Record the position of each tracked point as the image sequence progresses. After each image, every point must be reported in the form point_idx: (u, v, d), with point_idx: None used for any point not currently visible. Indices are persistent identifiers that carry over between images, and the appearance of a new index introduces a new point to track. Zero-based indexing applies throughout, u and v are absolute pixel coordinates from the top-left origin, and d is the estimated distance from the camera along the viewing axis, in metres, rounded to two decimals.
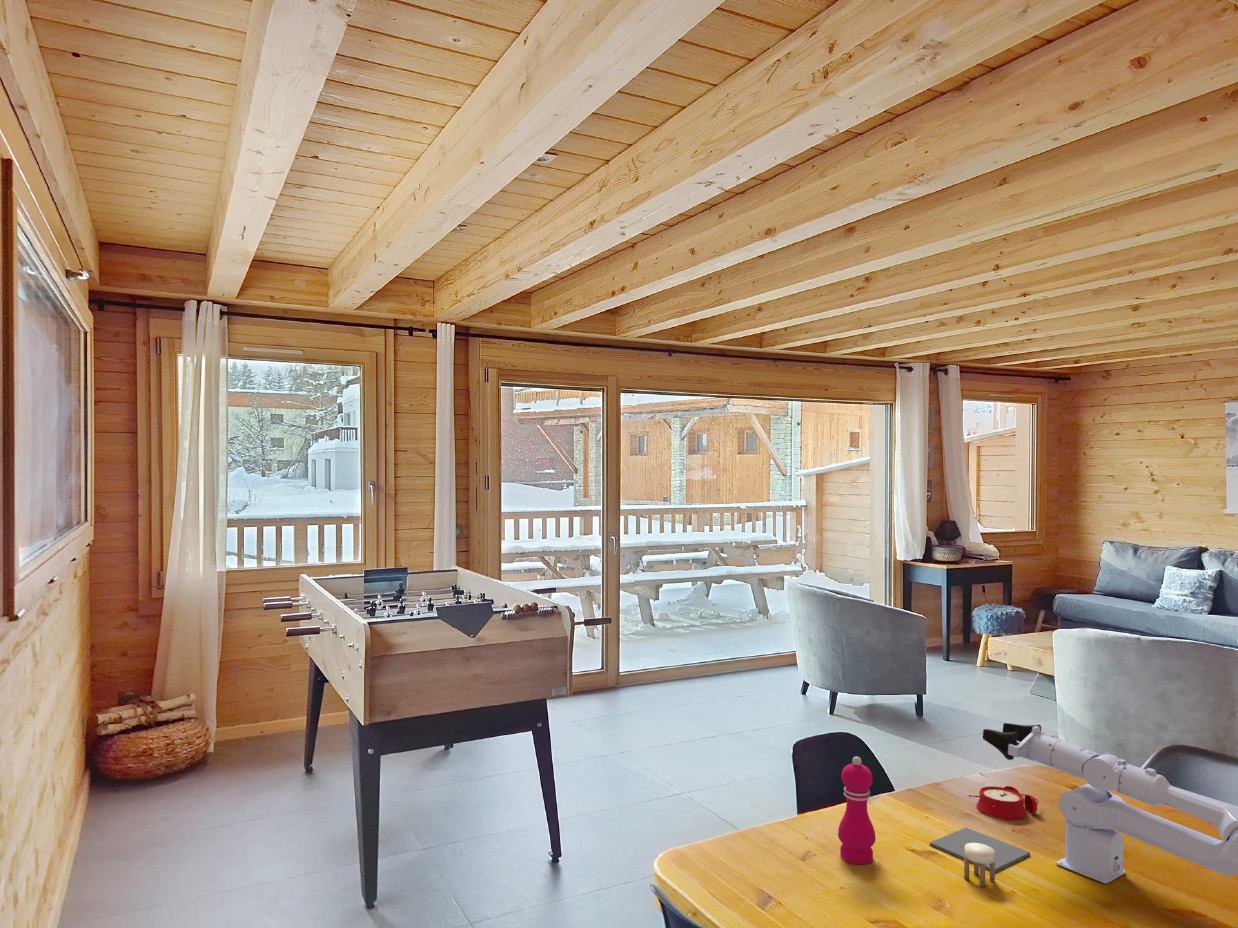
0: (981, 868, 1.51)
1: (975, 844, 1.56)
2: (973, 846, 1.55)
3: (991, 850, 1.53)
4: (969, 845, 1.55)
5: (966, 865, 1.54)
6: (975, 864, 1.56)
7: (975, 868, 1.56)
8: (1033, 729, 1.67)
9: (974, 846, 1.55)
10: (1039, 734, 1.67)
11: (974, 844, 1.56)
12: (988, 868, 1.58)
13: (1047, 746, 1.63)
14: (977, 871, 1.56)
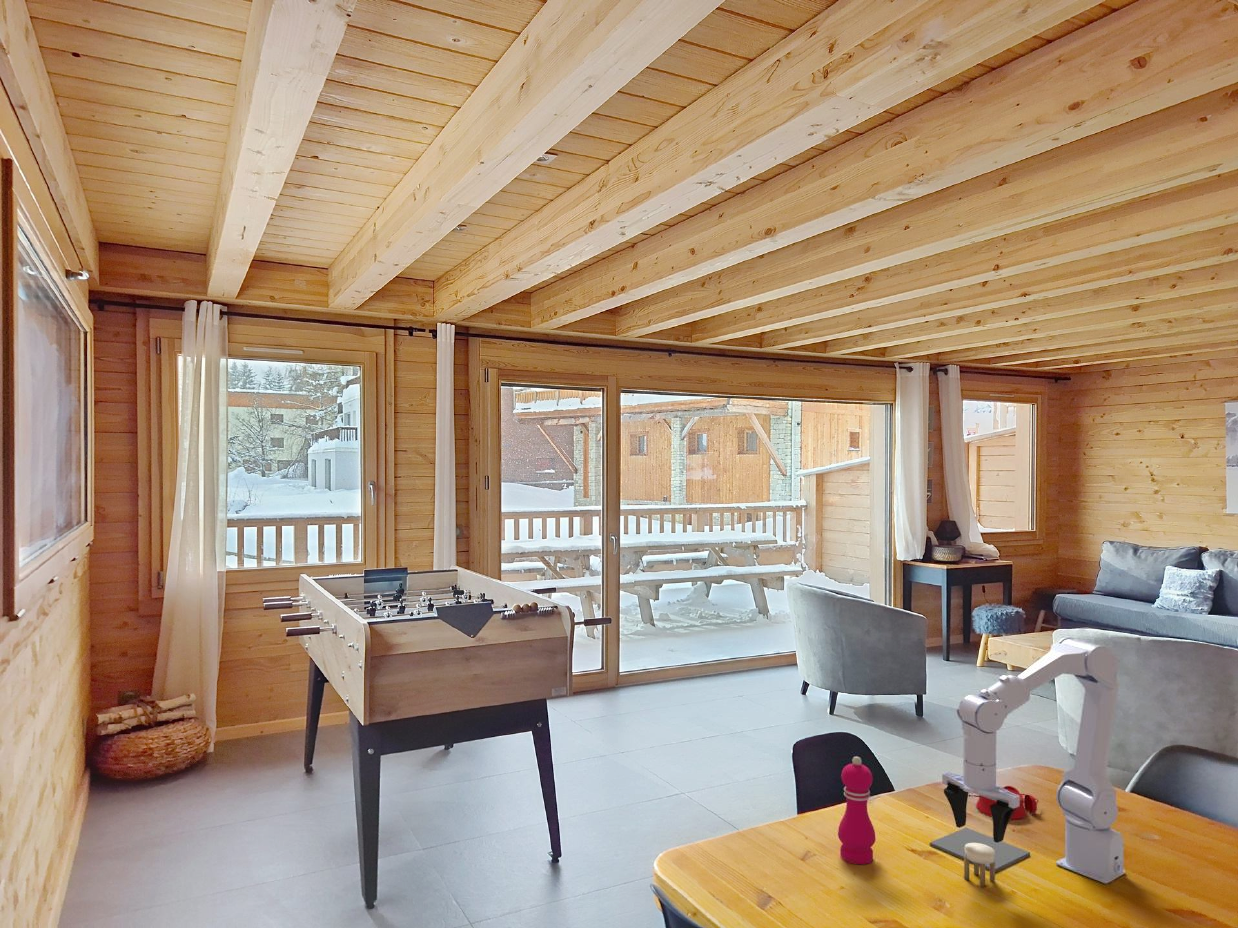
0: (981, 868, 1.51)
1: (975, 844, 1.56)
2: (973, 846, 1.55)
3: (991, 850, 1.53)
4: (969, 845, 1.55)
5: (966, 865, 1.54)
6: (975, 864, 1.56)
7: (975, 868, 1.56)
8: (973, 791, 1.51)
9: (974, 846, 1.55)
10: (973, 784, 1.52)
11: (974, 844, 1.56)
12: (988, 868, 1.58)
13: (986, 771, 1.51)
14: (977, 871, 1.56)
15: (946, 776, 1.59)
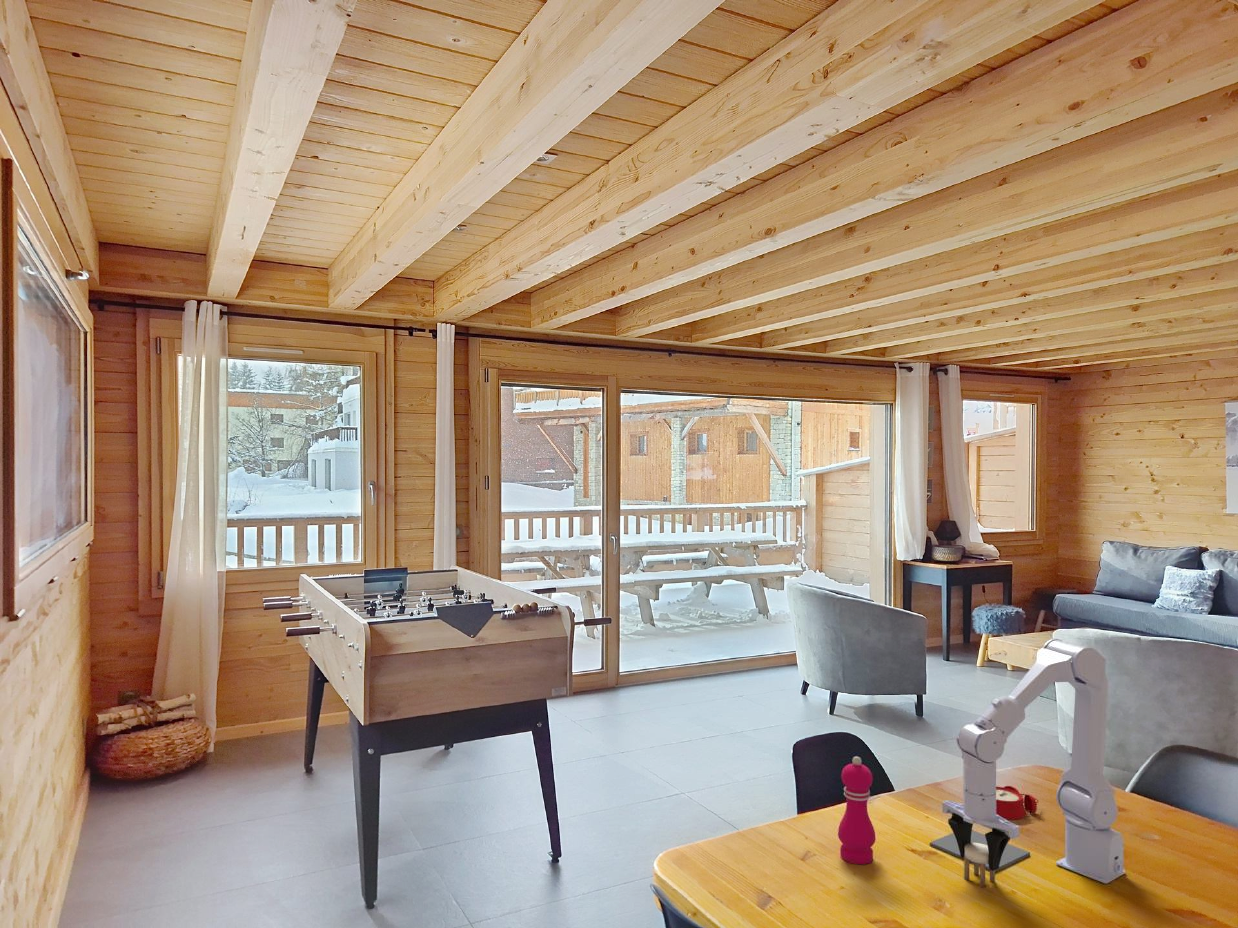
0: (981, 868, 1.51)
1: (975, 844, 1.56)
2: (973, 846, 1.55)
3: None
4: (969, 845, 1.55)
5: (966, 865, 1.54)
6: (975, 864, 1.56)
7: (975, 868, 1.56)
8: (973, 821, 1.51)
9: (974, 846, 1.55)
10: (973, 814, 1.52)
11: (974, 844, 1.56)
12: (988, 868, 1.58)
13: (986, 801, 1.51)
14: (977, 871, 1.56)
15: (946, 805, 1.59)
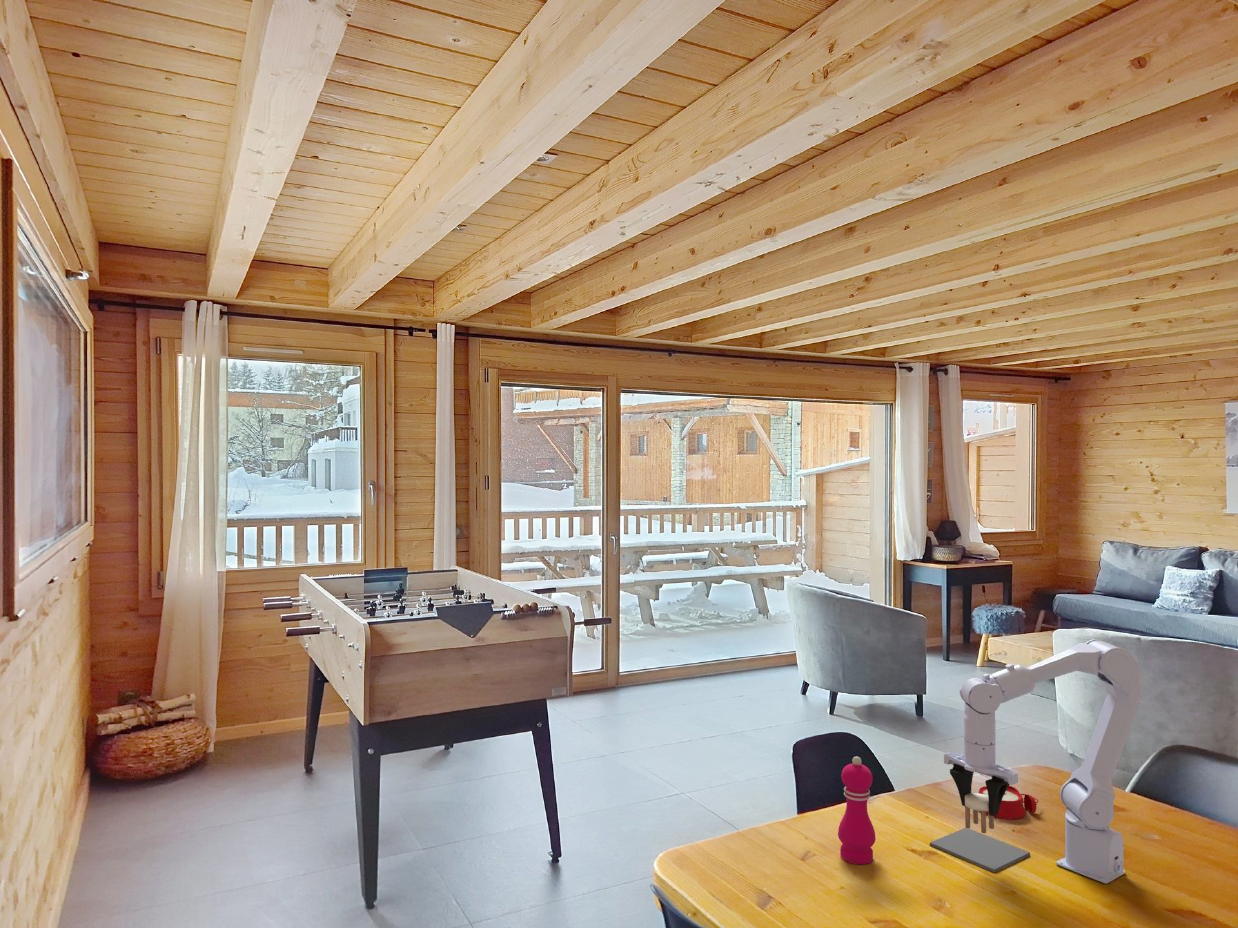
0: (982, 815, 1.59)
1: (974, 794, 1.63)
2: (973, 796, 1.62)
3: None
4: (969, 795, 1.62)
5: (967, 814, 1.61)
6: (974, 813, 1.63)
7: (974, 817, 1.63)
8: (974, 769, 1.59)
9: (973, 796, 1.62)
10: (974, 762, 1.60)
11: (973, 794, 1.63)
12: (988, 868, 1.58)
13: (986, 750, 1.59)
14: (976, 820, 1.63)
15: (948, 756, 1.66)
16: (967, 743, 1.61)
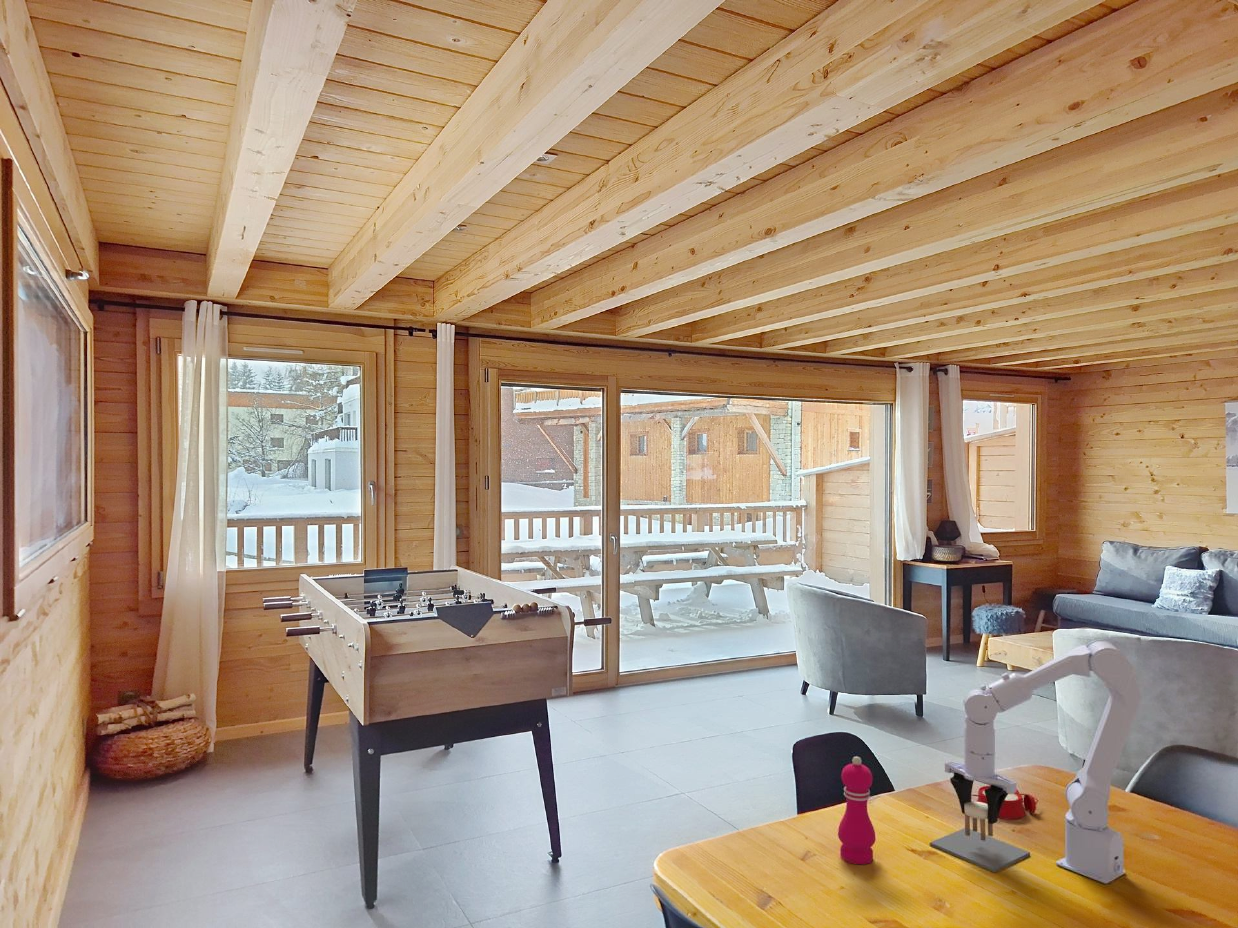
0: (981, 823, 1.63)
1: (973, 802, 1.68)
2: (972, 804, 1.67)
3: None
4: (968, 804, 1.67)
5: (967, 822, 1.66)
6: (974, 821, 1.68)
7: (974, 825, 1.68)
8: (974, 778, 1.64)
9: (973, 804, 1.67)
10: (973, 772, 1.64)
11: (972, 802, 1.68)
12: (988, 868, 1.58)
13: (985, 760, 1.64)
14: (976, 828, 1.68)
15: (948, 765, 1.71)
16: (967, 753, 1.66)
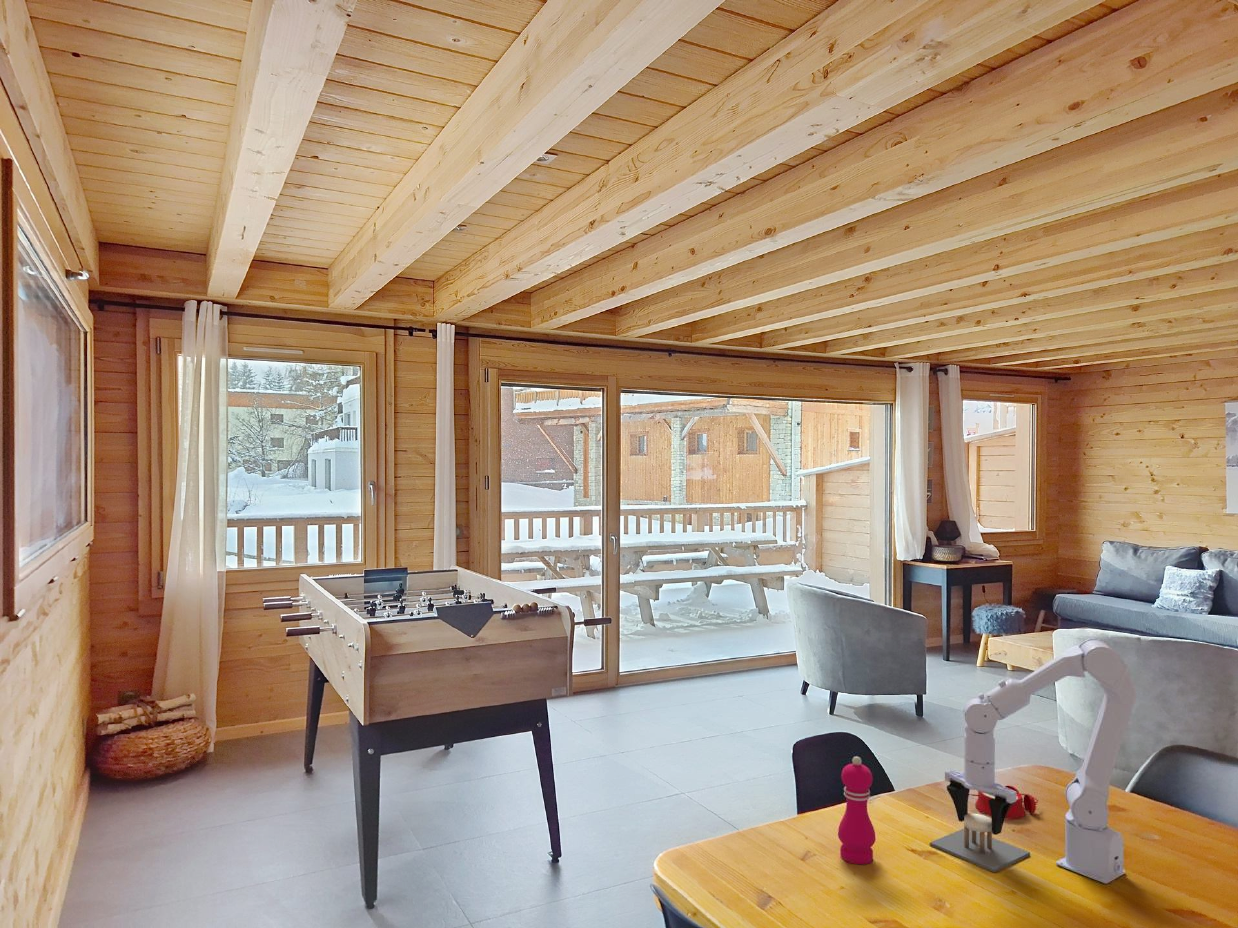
0: (981, 836, 1.63)
1: (973, 815, 1.68)
2: (972, 816, 1.67)
3: (989, 820, 1.65)
4: (968, 816, 1.67)
5: (966, 834, 1.66)
6: (973, 833, 1.68)
7: (973, 837, 1.68)
8: (974, 787, 1.63)
9: (973, 817, 1.67)
10: (973, 781, 1.64)
11: (972, 814, 1.68)
12: (988, 868, 1.58)
13: (985, 769, 1.64)
14: (975, 840, 1.68)
15: (948, 774, 1.71)
16: (967, 762, 1.66)
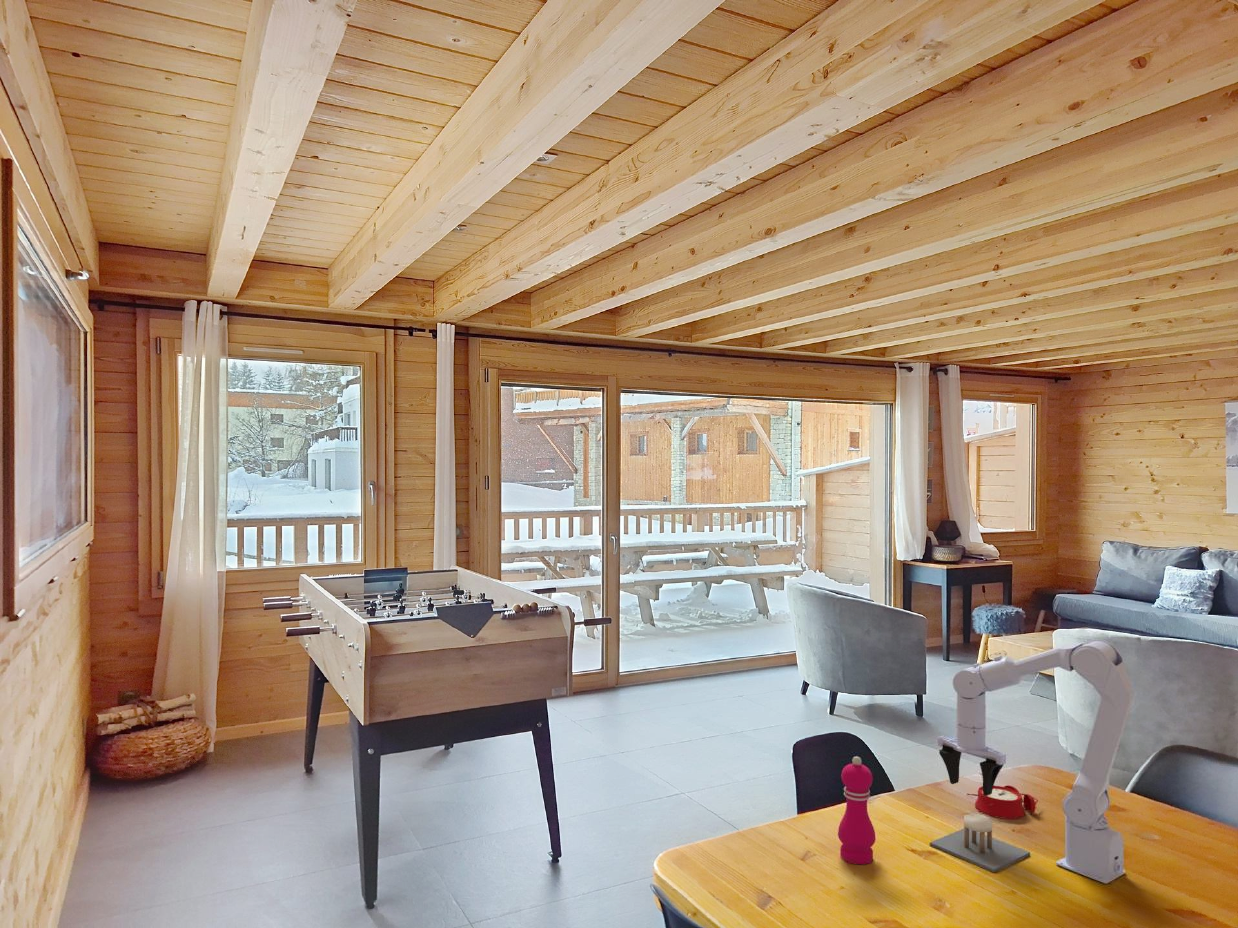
0: (981, 836, 1.63)
1: (973, 815, 1.68)
2: (972, 816, 1.67)
3: (989, 820, 1.65)
4: (968, 816, 1.67)
5: (966, 834, 1.66)
6: (973, 833, 1.68)
7: (973, 837, 1.68)
8: (965, 751, 1.72)
9: (973, 817, 1.67)
10: (965, 744, 1.73)
11: (972, 815, 1.68)
12: (988, 868, 1.58)
13: (976, 733, 1.72)
14: (975, 840, 1.68)
15: (941, 739, 1.79)
16: (959, 727, 1.74)
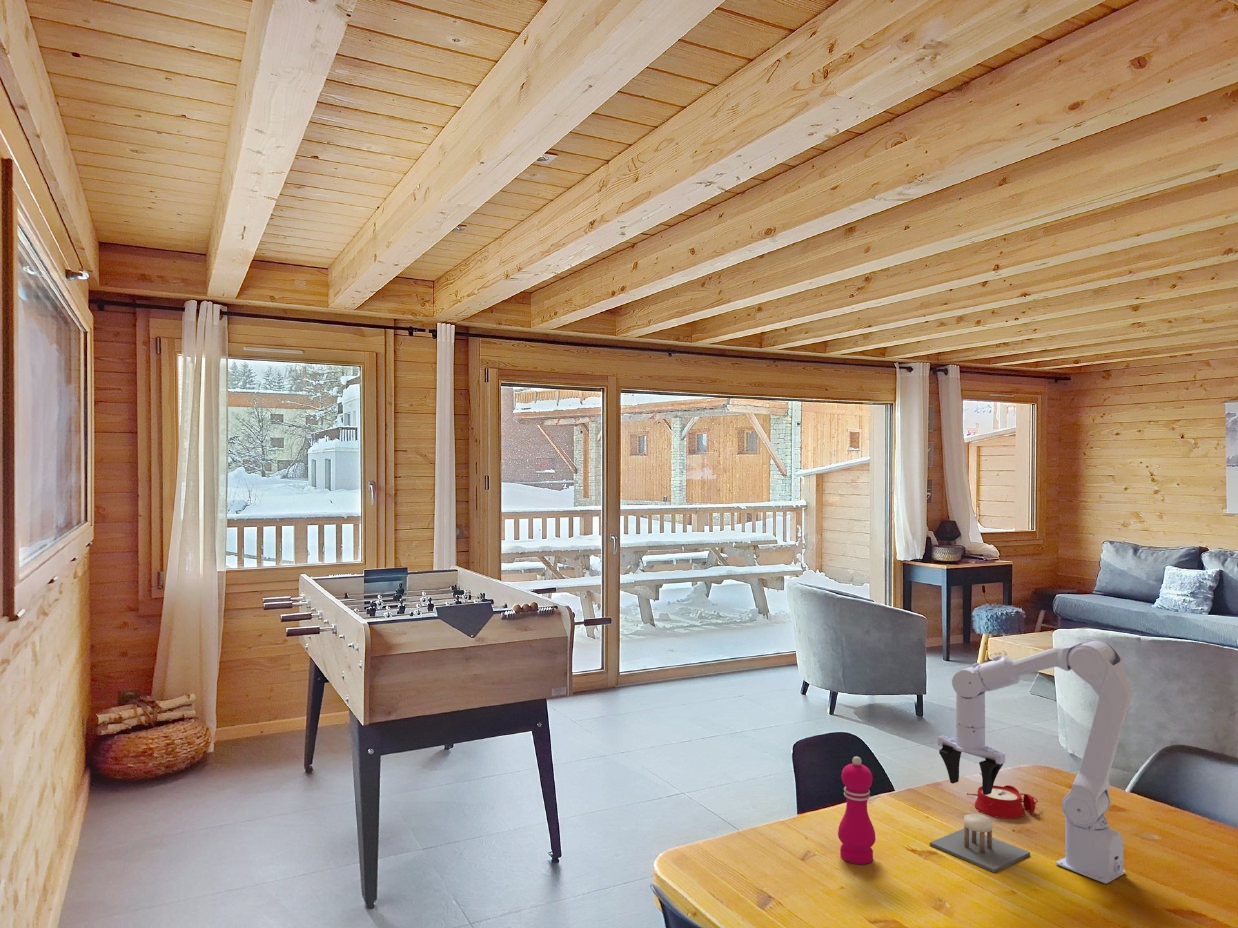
0: (981, 836, 1.63)
1: (973, 815, 1.68)
2: (972, 816, 1.67)
3: (989, 820, 1.65)
4: (968, 816, 1.67)
5: (966, 834, 1.66)
6: (973, 833, 1.68)
7: (973, 837, 1.68)
8: (965, 750, 1.72)
9: (973, 817, 1.67)
10: (964, 744, 1.73)
11: (972, 815, 1.68)
12: (988, 868, 1.58)
13: (976, 733, 1.72)
14: (975, 840, 1.68)
15: (941, 738, 1.80)
16: (959, 726, 1.74)
